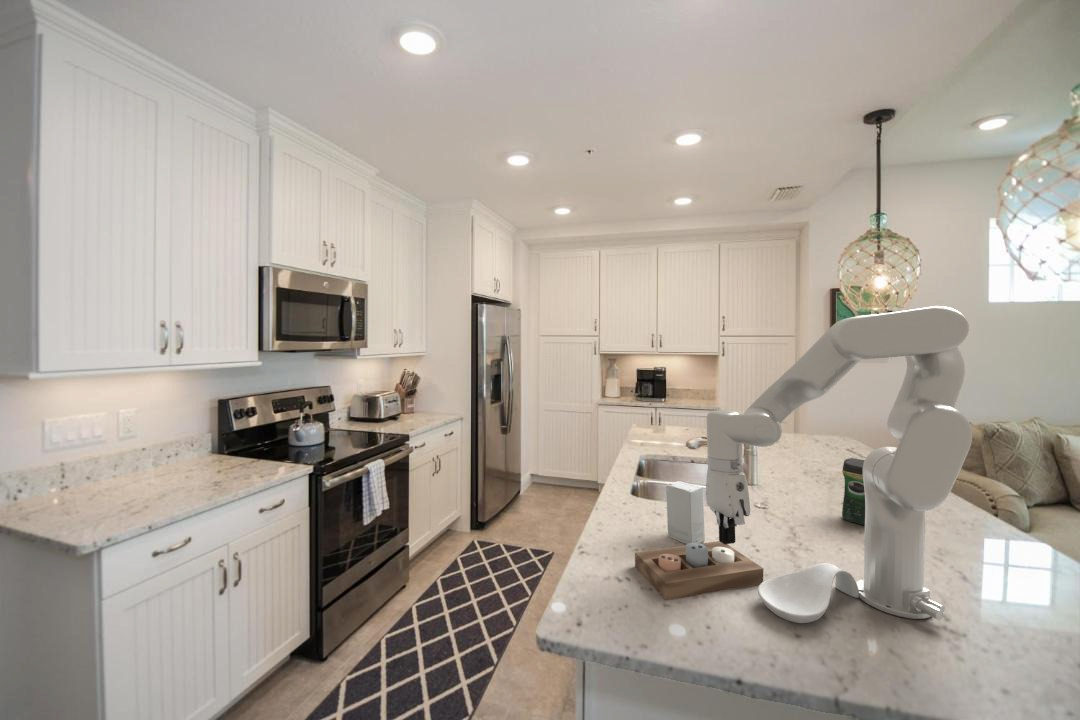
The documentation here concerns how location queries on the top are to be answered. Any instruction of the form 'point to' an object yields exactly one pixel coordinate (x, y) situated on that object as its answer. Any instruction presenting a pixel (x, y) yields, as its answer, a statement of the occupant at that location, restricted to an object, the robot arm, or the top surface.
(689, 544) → the two-pip button
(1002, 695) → the top surface
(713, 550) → the one-pip button
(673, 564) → the three-pip button
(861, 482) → the coffee jar
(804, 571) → the spoon rest
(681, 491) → the skincare box
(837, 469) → the top surface
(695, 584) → the wooden three-slot caddy
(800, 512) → the top surface
